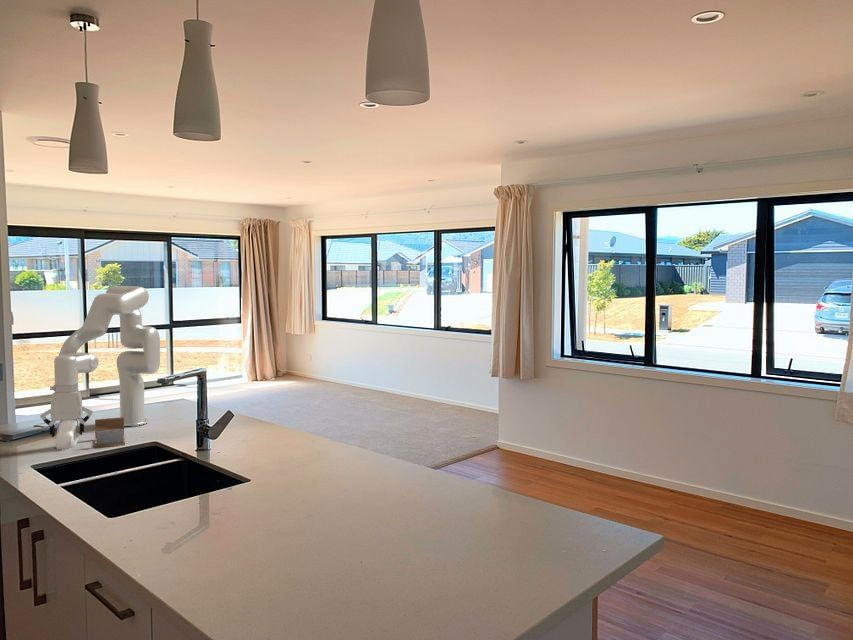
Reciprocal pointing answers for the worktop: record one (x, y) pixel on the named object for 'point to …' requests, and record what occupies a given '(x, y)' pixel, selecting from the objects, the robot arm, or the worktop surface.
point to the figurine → (67, 434)
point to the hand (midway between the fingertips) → (67, 434)
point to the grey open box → (109, 428)
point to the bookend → (109, 436)
